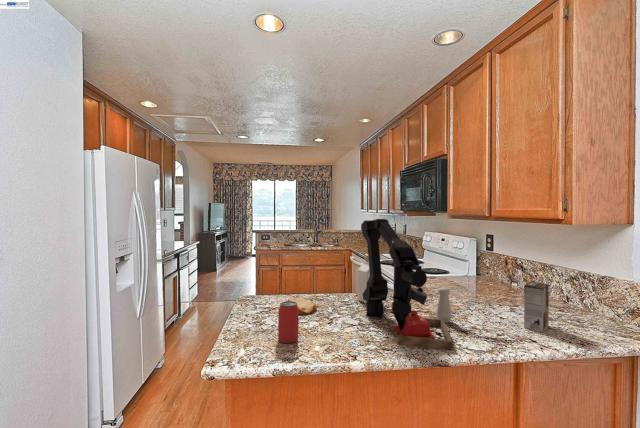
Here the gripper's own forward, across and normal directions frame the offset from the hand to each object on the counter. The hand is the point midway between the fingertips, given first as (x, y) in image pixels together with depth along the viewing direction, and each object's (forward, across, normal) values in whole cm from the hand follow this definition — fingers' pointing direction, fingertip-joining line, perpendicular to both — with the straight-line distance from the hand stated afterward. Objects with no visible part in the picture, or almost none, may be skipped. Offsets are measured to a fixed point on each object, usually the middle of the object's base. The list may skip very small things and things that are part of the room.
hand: (401, 325), depth 112 cm
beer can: (+3, -18, +36) cm, 40 cm away
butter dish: (+3, -1, -4) cm, 5 cm away
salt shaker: (+3, +17, -16) cm, 24 cm away
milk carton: (+3, +37, +16) cm, 40 cm away
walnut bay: (+2, 0, -7) cm, 8 cm away
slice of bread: (+3, +17, +44) cm, 47 cm away
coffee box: (+3, +20, -49) cm, 53 cm away
